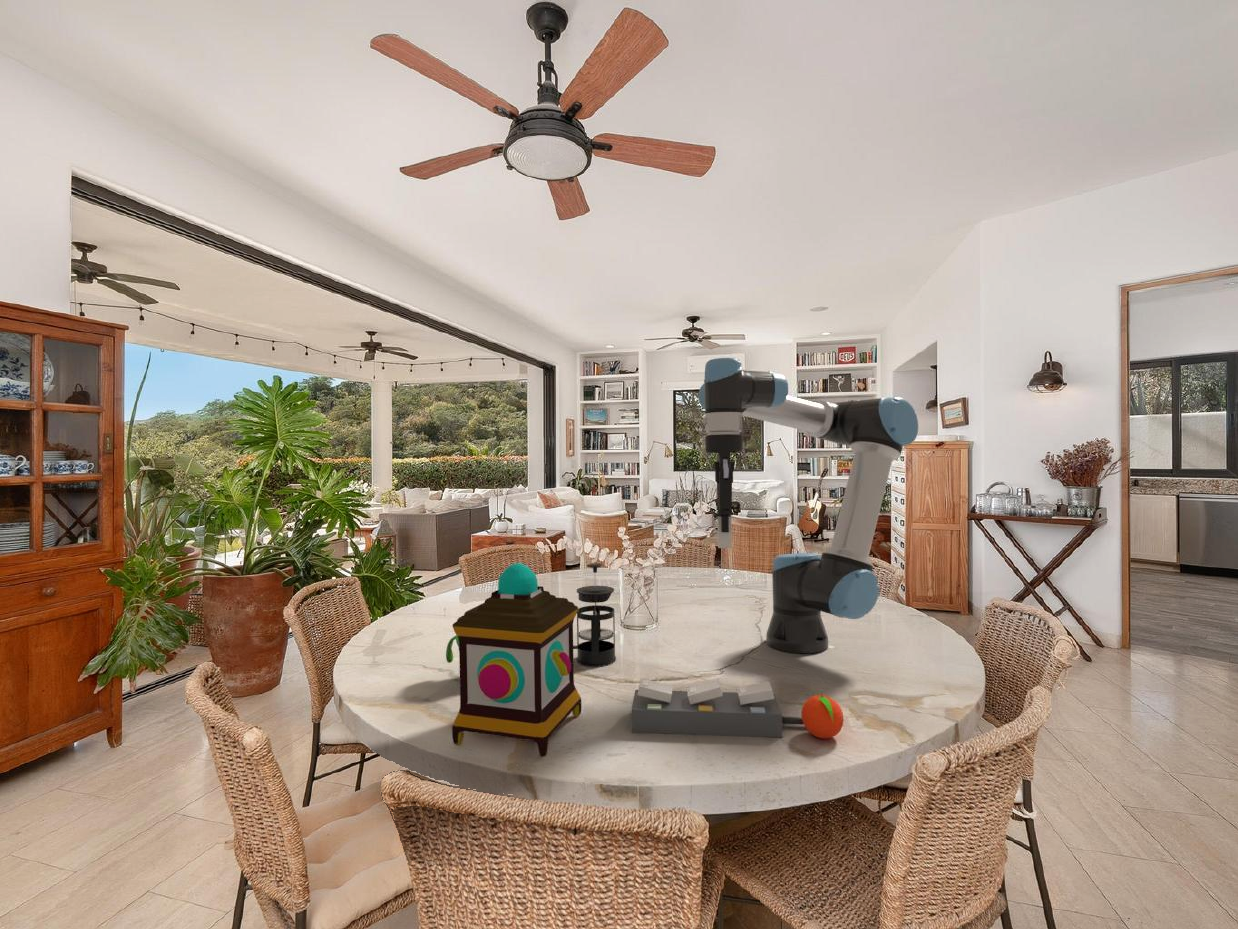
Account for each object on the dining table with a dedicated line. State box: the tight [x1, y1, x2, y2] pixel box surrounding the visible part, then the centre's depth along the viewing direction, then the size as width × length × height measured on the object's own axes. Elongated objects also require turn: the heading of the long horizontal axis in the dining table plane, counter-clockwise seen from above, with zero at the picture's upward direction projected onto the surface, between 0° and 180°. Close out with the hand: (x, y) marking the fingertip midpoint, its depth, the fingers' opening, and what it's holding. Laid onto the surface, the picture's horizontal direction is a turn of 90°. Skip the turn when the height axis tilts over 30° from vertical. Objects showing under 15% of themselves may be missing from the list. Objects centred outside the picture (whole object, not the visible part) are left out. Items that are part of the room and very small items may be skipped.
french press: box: [573, 562, 617, 668], centre depth 144 cm, size 12×9×23 cm
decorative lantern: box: [451, 562, 582, 758], centre depth 108 cm, size 20×20×30 cm
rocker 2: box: [686, 678, 723, 705], centre depth 110 cm, size 6×4×2 cm, turn 84°
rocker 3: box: [736, 681, 775, 705], centre depth 109 cm, size 6×4×2 cm, turn 84°
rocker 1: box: [637, 677, 673, 703], centre depth 110 cm, size 6×4×2 cm, turn 84°
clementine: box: [800, 694, 845, 739], centre depth 104 cm, size 8×7×7 cm
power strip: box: [630, 689, 804, 738], centre depth 109 cm, size 32×9×4 cm, turn 84°
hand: (724, 547), depth 126 cm, fingers closed
